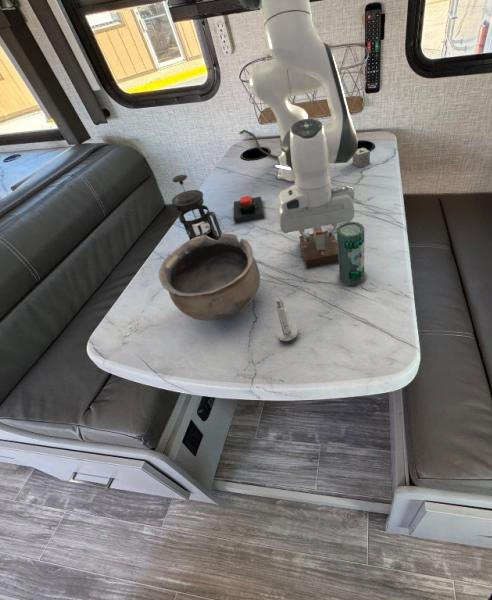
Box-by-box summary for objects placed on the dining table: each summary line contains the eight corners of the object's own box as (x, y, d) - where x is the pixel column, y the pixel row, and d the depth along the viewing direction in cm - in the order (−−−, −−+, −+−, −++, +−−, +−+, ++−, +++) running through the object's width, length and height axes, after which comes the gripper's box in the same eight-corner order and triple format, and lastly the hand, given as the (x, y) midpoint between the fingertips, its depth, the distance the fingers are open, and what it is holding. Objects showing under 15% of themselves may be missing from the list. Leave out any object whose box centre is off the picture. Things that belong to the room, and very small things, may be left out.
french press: (185, 254, 105) (153, 185, 89) (197, 236, 112) (169, 170, 96) (219, 255, 103) (193, 184, 87) (230, 237, 109) (207, 168, 93)
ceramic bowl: (277, 279, 91) (265, 233, 81) (250, 342, 77) (233, 296, 66) (204, 274, 97) (185, 231, 86) (167, 333, 82) (138, 289, 72)
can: (358, 287, 85) (357, 238, 75) (336, 281, 88) (332, 233, 77) (367, 272, 89) (367, 224, 78) (346, 267, 91) (343, 219, 81)
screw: (280, 348, 75) (276, 332, 78) (301, 343, 75) (296, 327, 78) (268, 308, 65) (265, 292, 69) (292, 302, 66) (287, 287, 69)
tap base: (300, 244, 102) (298, 235, 99) (333, 237, 102) (332, 229, 100) (306, 268, 93) (305, 259, 91) (342, 261, 93) (341, 252, 91)
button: (241, 201, 118) (239, 197, 117) (252, 199, 118) (251, 195, 117) (241, 207, 115) (239, 202, 114) (252, 205, 115) (251, 200, 114)
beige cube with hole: (358, 167, 134) (358, 154, 130) (352, 163, 137) (352, 150, 133) (369, 164, 134) (369, 151, 131) (363, 159, 138) (363, 147, 134)
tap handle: (313, 239, 97) (312, 223, 94) (321, 237, 97) (319, 222, 94) (317, 251, 93) (315, 235, 89) (325, 249, 93) (323, 233, 89)
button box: (235, 206, 123) (232, 196, 120) (261, 201, 123) (259, 191, 121) (235, 223, 115) (232, 213, 112) (264, 218, 115) (261, 208, 112)
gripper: (351, 179, 87) (352, 225, 96) (273, 194, 86) (282, 238, 96) (357, 190, 82) (357, 237, 92) (275, 206, 82) (284, 251, 91)
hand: (318, 238), depth 94 cm, fingers open, 5 cm apart
